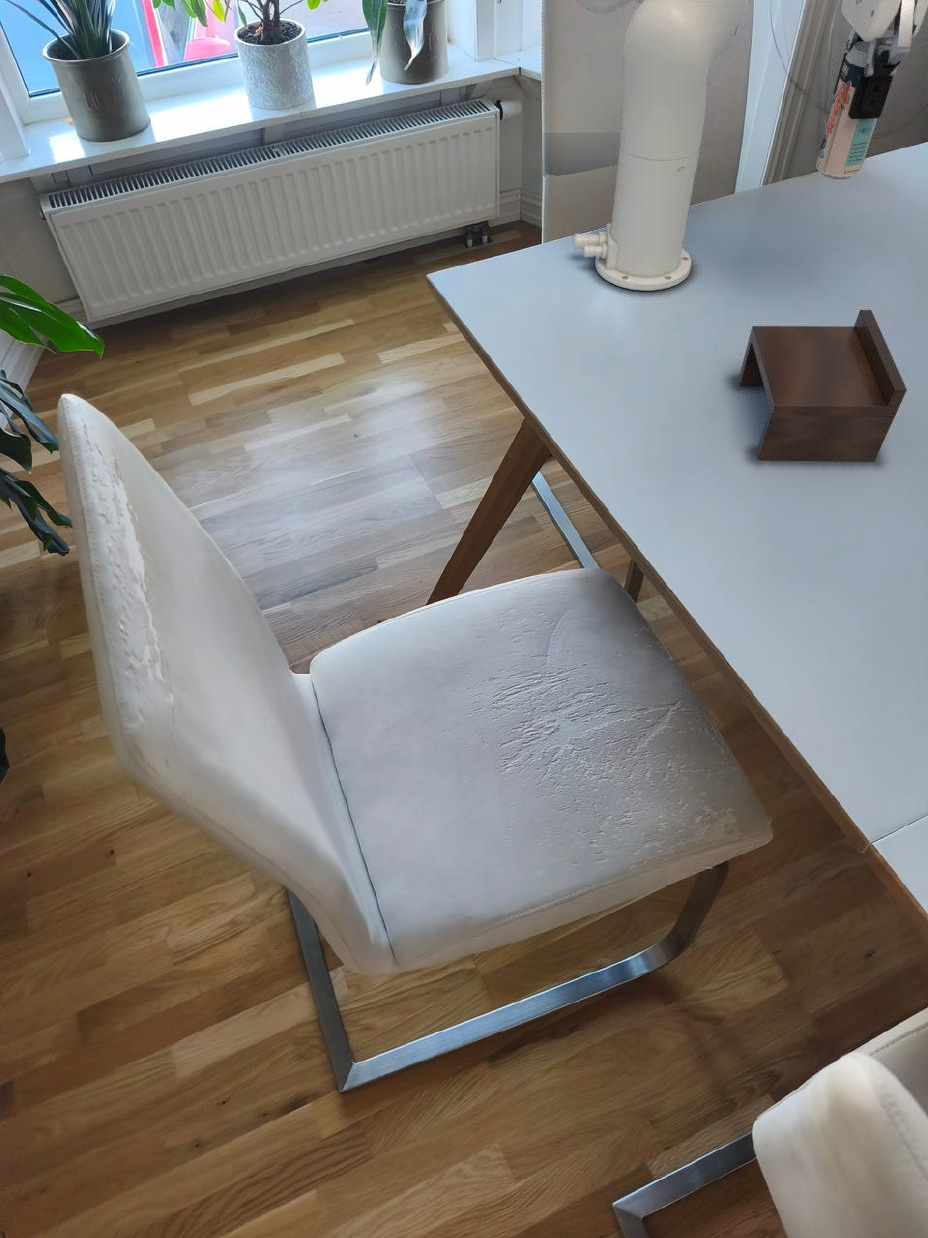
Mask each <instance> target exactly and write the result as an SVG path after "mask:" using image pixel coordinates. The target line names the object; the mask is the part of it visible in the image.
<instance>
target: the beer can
mask: <svg viewBox="0 0 928 1238" xmlns="http://www.w3.org/2000/svg"><path fill="white" fill-rule="evenodd" d="M870 42H871V41H870ZM870 42H865V41H861V42H857V43H856V44H855V45H854V46H853V47H852V49H851V50H850V52H847V53H848V54H847V55H846V58H845V61H844V65H843V68H842V72H841V76H840V79H839V83H838V86H837V90H836V94H835V95H834V97H833V101H832V105H831V109H830V112H829V114H828V115H829V116H828V119H827V122H826V126H825V130H824V134H823V137H822V141H821V144H820V148H819V152H818V155H817V158H816V163H815V167H816V170H817V171H818V172H819V173H820V174H821V175H822V176H824V177H826V178H830V179H833V180H847V179H850V178H852V177H856V176H857V175H858V174H860V173H861V171H862V169H863V166H864V162H865V160H866V156H867V153H868V150H869V147H870V144H871V142H872V141H871V140H872V137H873V135H874V131H875V129H876V125H877V123H878V119H879V118H874V119H850V117H849V116H848V112H849V109H850V105H851V102H852V98H853V95H854V91H855V88H856V85H857V81H858V78H859V74H860V73H864V71H865V66H866V61H867V56H868V51H869V47H870ZM890 46H891V45H880V46H879V51H878V56H879V55H880V54H881V53H882V51H883V50H888V49H889V47H890ZM878 56H877V57H878Z"/></svg>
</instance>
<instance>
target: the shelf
mask: <svg viewBox="0 0 928 1238" xmlns="http://www.w3.org/2000/svg"><path fill="white" fill-rule="evenodd" d="M737 380H738V385H739V386H740V387H764V391H765V394H766V398H767V402H768V406H769V411H768V414H767V415H766V416H767V417H766V420H765V423H764V427H763V429H762V432H761V436H760V439H759V442H758V446H757V449H756V452H755V454H756V456H757V457H756V458H757V460H758V461H803V462H804V461H807V462H809V461H810V462H811V461H812V462H813V461H814V462H874V463H875V461H876V459H877V457H878V455H879V452H880V450H881V448H882V446H883V444H884V442H885V439H886V437H887V435H888V432H889V431H890V428H891V427H892V424H893V421H894V420H895V417H896V415H897V414H898V412H899V408H900V406H901V404H902V402H903V399H904V397H905V396H906V393H907V391H908V389H907V387H906V384H905V381H904V380H903V378H902V375H901V373H900V371H899V369H898V367H897V364H896V362H895V360H894V357H893V355H892V353H891V351H890V349H889V347H888V344H887V342H886V339H885V337H884V335H883V333H882V330H881V328H880V325H879V324H878V322H877V320H876V316H875V315H874V313H873V311H872V309H860V310H859V311H858V315H857V317H856V320H855V323H854V325H853V326H851V325H849V326H846V325H845V326H839V325H835V326H833V325H831V326H830V325H826V326H825V325H820V326H819V325H803V326H802V325H752V326H751V330H750V334H749V338H748V342H747V345H746V350H745V353H744V356H743V360H742V364H741V368H740V372H739V376H738V379H737Z"/></svg>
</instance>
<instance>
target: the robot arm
mask: <svg viewBox="0 0 928 1238" xmlns="http://www.w3.org/2000/svg"><path fill="white" fill-rule="evenodd" d="M633 1H634V0H575V2H577V3H578V4H579V5H580V6H581V7H582V8H584V9H585V10H586V11H588V12H590V13H592V14H596V15H599V16H601V15H609V14H612V13H615V12H616V11H618V10H620V9H622V8H624V7H626V6H627V5H628V4H630V3H632V2H633ZM635 1H636V2H637V4H638V5H639V6H638V7H637V9H636V10H635V12H634V14H633V15H632V17H631V19H630V21H629V24H628V26H627V29H626V32H625V37H624V42H623V48H622V49H623V52H622V70H623V103H622V116H621V117H622V118H621V126H620V127H621V128H620V138H619V152H618V161H617V170H616V180H615V188H614V198H613V207H612V208H613V209H612V216H611V223H606V230H605V231H598V233H597V234H595V233H594V234H593V233H592V234H589V233H574V237H573V249H574V250H583V257H584V258H594V257H595V264H594V265H595V270H596V271H597V273H598V274H599V276H601V277H602V278H603V279H604V280H605V281H607V282H609V283H611V284H613V285H614V286H616V287H617V286H618V287H620V288H623V289H628V290H631V291H632V290H633V291H641V292H642V291H643V292H644V291H645V292H647V291H648V292H649V291H661V290H665V289H669V288H672V287H674V286H677V285H678V284H681V283H682V282H683V281H685V279H687V278H688V276H689V275H690V272H691V268H692V257H691V255H690V254H689V252H688V251H687V250H686V249H685V248H684V247H683V246H684V241H685V234H686V230H687V223H688V218H689V212H690V208H691V201H692V196H693V190H694V184H695V180H696V173H697V169H698V168H697V167H698V162H699V156H700V151H701V143H702V138H703V131H704V126H705V118H706V107H707V105H706V104H707V103H706V102H707V79H708V73H709V70H710V67H711V65H712V64H713V63H714V62H715V61H716V60H717V59H718V58H719V57H720V56H722V54H724V53H725V52H726V51H727V50H728V49H729V48H730V47H731V46H732V45H733V44H734V42H736V40H737V39H738V37H739V36H740V34H741V32H742V30H743V29H744V26H745V23H746V20H747V16H748V12H749V0H635ZM927 10H928V0H842V3H841V13H842V15H843V18H844V19H845V20H846V21H847V23H848V24H849V25H850V27H851V29H850V31H849V34H848V37H847V40H846V43H845V49H844V50H845V52H844V54H843V58H842V61H841V65H840V68H839V71H838V76H837V79H836V83H835V86H834V90H833V96H835V94H836V90H837V86H838V83H839V79H840V76H841V72H842V68H843V65H844V61H845V58H846V55H847V54H848V53H849V52H850V50H851V49H852V47H853V46H854V45H855V44H856V43H857V42H861V41H865V42H870V41H871V42H870V47H869V51H868V56H867V61H866V66H865V71H864V73H860V74H859V78H858V81H857V85H856V88H855V91H854V95H853V98H852V102H851V105H850V109H849V112H848V116H849V117H850V119H874V118H878V119H879V118H880V117H881V116H882V113H883V111H884V108H885V105H886V101H887V98H888V95H889V92H890V89H891V87H892V83H893V80H894V77H895V76H896V74H897V72H898V69H899V65H900V64H901V62H902V61H903V60H904V59H905V58H906V57H907V56H908V55H910V54H909V53H910V52H911V48H912V39H913V38H915V37H916V35H918V33H919V30H920V28H921V26H922V23H923V21H924V18H925V15H926V13H927ZM886 31H893V36H884V34H885V32H886ZM880 45H891V46H890V47H889V49H888V50H883V51H882V53H881V54H880V55H879V56H878V51H879V46H880ZM877 56H878V57H877Z"/></svg>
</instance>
